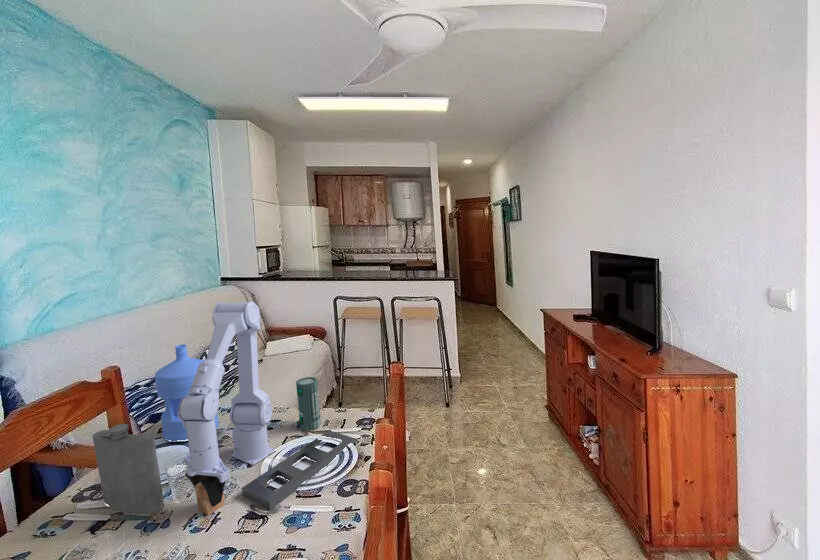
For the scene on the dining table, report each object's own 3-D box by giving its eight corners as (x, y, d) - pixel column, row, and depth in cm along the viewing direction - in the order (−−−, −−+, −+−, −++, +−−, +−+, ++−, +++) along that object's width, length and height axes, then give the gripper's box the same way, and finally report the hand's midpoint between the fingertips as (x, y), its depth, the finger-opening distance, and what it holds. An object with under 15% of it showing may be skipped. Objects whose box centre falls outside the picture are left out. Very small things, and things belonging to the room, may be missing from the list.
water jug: (194, 416, 139) (184, 337, 135) (229, 422, 134) (220, 340, 129) (151, 440, 125) (138, 352, 121) (189, 448, 119) (176, 356, 115)
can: (306, 420, 133) (303, 376, 131) (323, 422, 131) (320, 377, 129) (297, 429, 127) (292, 384, 125) (314, 431, 125) (310, 385, 123)
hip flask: (167, 504, 95) (155, 424, 92) (152, 517, 91) (139, 434, 88) (113, 496, 99) (100, 419, 96) (97, 508, 95) (83, 428, 92)
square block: (198, 509, 93) (194, 485, 92) (214, 499, 96) (211, 475, 95) (208, 515, 91) (205, 491, 90) (224, 504, 94) (221, 480, 93)
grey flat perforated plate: (242, 495, 97) (241, 488, 97) (329, 436, 122) (329, 430, 122) (270, 509, 92) (269, 501, 91) (355, 444, 117) (355, 438, 117)
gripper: (167, 445, 92) (175, 500, 94) (205, 463, 84) (213, 522, 86) (198, 431, 98) (204, 483, 100) (235, 446, 90) (242, 502, 92)
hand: (210, 500), depth 93 cm, fingers closed on square block, 4 cm apart
